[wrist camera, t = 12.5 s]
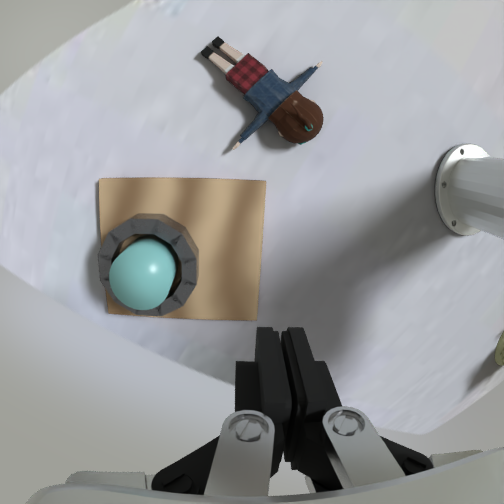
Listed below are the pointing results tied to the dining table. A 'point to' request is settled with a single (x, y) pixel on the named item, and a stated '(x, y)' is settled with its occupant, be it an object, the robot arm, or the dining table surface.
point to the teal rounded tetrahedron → (144, 272)
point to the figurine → (500, 351)
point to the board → (199, 237)
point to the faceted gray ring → (167, 232)
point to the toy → (270, 95)
